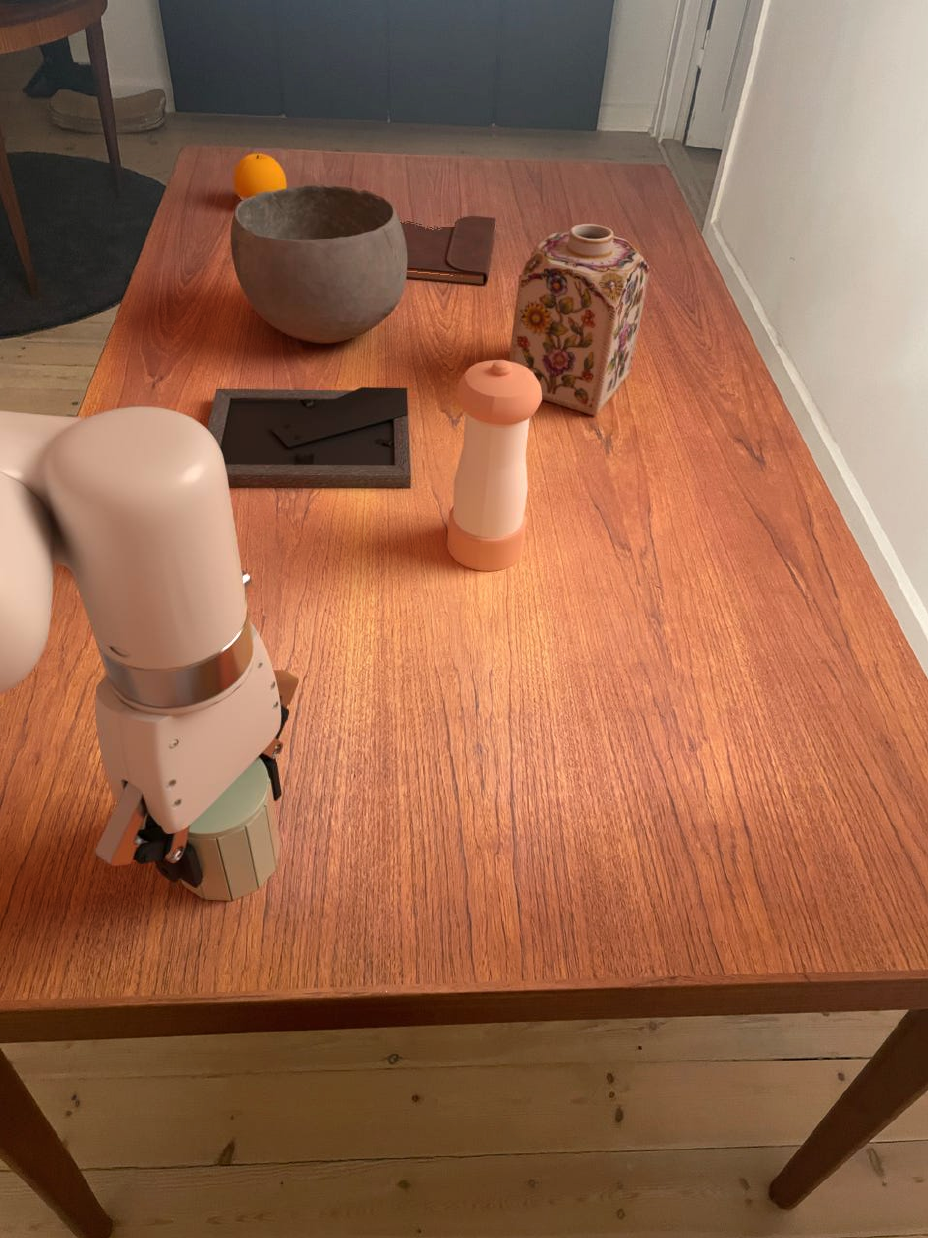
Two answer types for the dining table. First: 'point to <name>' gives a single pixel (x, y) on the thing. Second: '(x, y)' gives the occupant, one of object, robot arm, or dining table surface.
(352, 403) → the picture frame
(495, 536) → the pepper shaker
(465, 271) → the notebook
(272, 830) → the cup
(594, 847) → the dining table surface
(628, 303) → the decorative jar
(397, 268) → the bowl
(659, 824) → the dining table surface
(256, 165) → the orange
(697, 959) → the dining table surface
